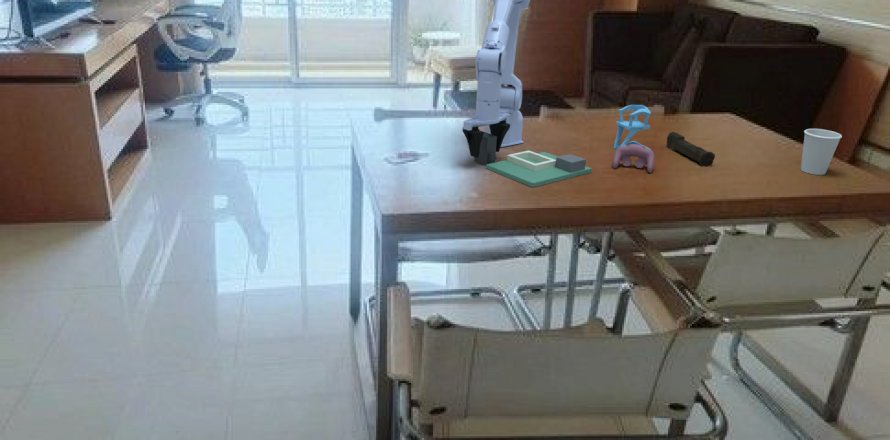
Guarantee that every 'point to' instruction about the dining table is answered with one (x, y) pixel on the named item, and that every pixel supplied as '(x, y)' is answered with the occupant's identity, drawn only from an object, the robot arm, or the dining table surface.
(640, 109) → the chair
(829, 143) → the dixie cup
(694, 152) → the hand tool
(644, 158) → the video game controller
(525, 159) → the circuit board
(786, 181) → the dining table surface
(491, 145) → the dark grey upright block
